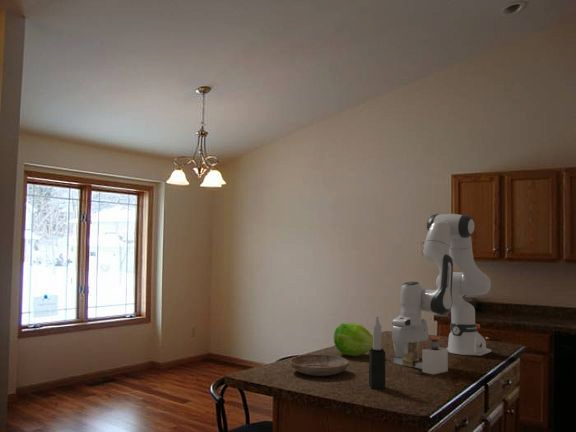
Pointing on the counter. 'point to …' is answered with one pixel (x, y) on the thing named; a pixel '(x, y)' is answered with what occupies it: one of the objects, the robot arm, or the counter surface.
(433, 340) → the plunger
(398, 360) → the rail
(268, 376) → the counter surface
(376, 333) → the candle
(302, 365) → the ceramic bowl
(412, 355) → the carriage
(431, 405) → the counter surface
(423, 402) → the counter surface
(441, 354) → the housing
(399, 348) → the cup
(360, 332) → the lettuce
